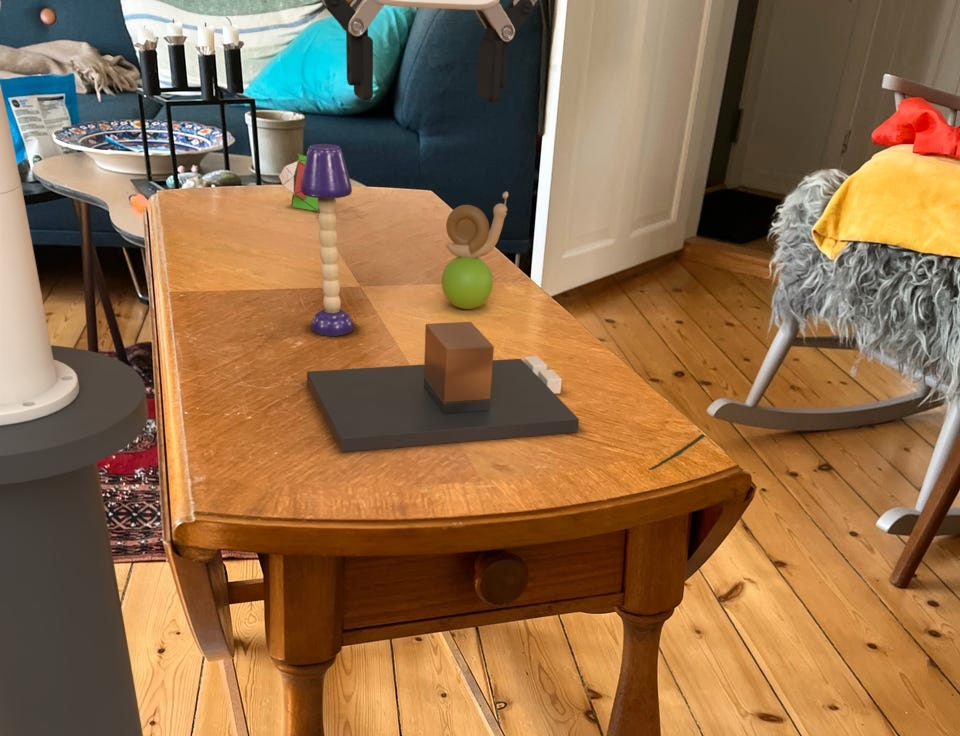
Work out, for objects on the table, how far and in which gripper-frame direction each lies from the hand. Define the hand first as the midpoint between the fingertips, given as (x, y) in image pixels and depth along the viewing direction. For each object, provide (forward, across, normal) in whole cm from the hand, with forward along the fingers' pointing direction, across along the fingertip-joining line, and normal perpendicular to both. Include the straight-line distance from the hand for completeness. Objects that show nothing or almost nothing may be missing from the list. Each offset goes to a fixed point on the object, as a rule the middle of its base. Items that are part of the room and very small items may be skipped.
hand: (426, 98), depth 77 cm
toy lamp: (+24, +4, -18) cm, 30 cm away
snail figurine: (+24, -12, -22) cm, 34 cm away
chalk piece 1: (+23, -11, -3) cm, 25 cm away
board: (+23, -1, +3) cm, 24 cm away
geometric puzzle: (+24, -3, -66) cm, 70 cm away
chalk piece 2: (+23, -11, +1) cm, 25 cm away
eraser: (+22, -2, +4) cm, 23 cm away
